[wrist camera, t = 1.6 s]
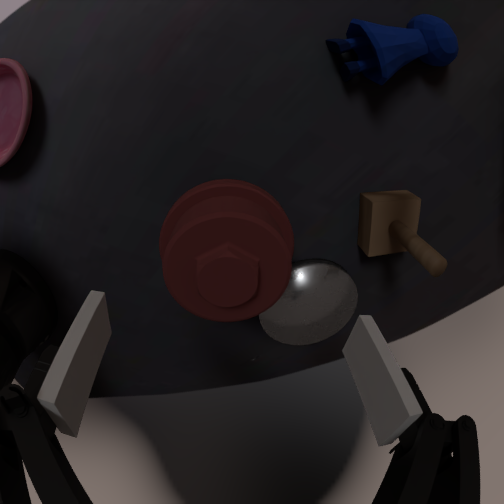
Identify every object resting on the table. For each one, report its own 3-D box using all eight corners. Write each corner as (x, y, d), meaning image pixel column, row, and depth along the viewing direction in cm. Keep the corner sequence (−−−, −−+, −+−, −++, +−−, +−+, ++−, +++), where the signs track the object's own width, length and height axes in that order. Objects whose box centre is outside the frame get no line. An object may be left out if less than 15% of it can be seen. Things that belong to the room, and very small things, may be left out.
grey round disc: (250, 335, 36) (251, 343, 35) (268, 253, 31) (270, 260, 30) (335, 337, 38) (338, 345, 37) (366, 263, 33) (371, 270, 32)
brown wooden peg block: (357, 244, 31) (404, 303, 22) (360, 192, 29) (418, 239, 19) (401, 238, 32) (454, 290, 22) (406, 190, 29) (470, 231, 19)
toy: (345, 92, 24) (450, 66, 22) (372, 92, 19) (485, 66, 16) (317, 32, 21) (430, 13, 19) (338, 16, 16) (463, 5, 13)
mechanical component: (296, 197, 28) (241, 271, 32) (208, 141, 25) (158, 227, 29) (340, 258, 18) (250, 358, 21) (195, 169, 14) (124, 303, 18)
